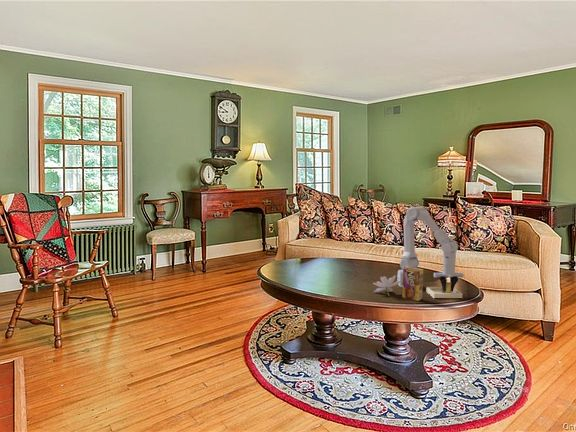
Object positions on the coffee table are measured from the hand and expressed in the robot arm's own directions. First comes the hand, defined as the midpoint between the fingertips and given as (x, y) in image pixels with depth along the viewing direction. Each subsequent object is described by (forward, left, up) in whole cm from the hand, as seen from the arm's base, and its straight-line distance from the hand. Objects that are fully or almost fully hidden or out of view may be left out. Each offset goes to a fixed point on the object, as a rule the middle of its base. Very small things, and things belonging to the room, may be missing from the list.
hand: (447, 291), depth 216 cm
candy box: (-20, -6, -2) cm, 21 cm away
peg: (0, 0, -2) cm, 2 cm away
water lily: (-31, +2, -2) cm, 31 cm away
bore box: (-2, 0, -2) cm, 3 cm away
